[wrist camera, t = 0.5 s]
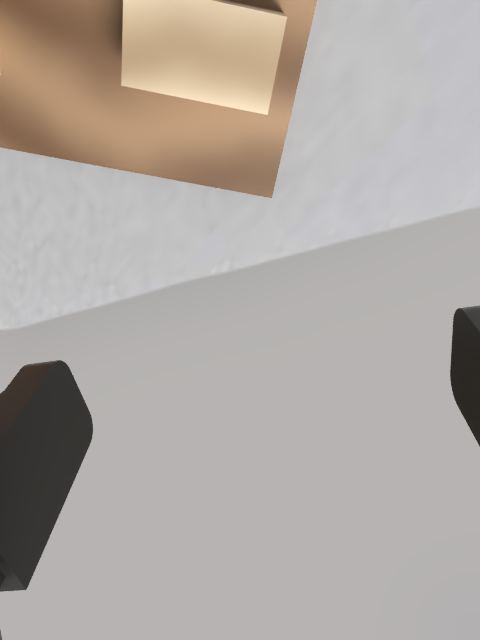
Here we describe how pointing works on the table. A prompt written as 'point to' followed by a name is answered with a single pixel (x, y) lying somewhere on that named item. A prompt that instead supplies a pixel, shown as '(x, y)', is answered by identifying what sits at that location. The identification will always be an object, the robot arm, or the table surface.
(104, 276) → the table surface
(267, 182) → the twin stand
